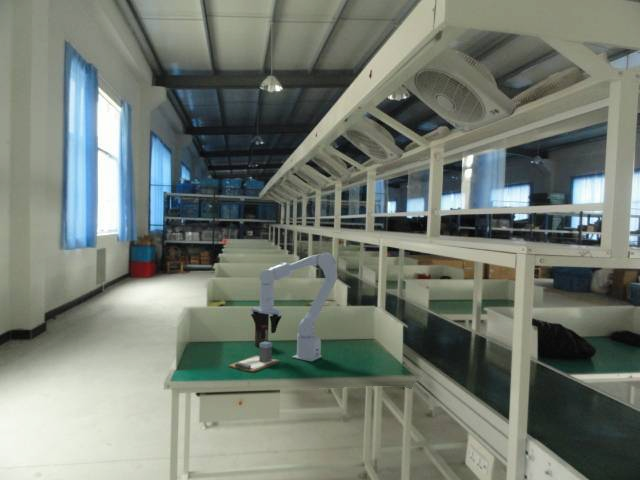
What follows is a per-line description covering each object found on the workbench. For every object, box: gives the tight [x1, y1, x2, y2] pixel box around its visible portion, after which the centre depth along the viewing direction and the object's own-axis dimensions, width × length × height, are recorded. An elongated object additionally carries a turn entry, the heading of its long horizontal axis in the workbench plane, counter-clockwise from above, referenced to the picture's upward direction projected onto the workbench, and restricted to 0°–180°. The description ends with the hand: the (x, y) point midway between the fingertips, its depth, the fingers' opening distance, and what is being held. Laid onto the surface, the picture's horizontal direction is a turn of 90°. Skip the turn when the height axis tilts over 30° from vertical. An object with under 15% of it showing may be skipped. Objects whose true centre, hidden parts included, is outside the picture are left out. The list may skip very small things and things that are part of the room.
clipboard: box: [228, 354, 281, 373], centre depth 157 cm, size 12×16×2 cm
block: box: [258, 341, 273, 363], centre depth 160 cm, size 4×4×7 cm
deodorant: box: [254, 314, 270, 348], centre depth 185 cm, size 6×6×15 cm
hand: (265, 331), depth 169 cm, fingers open, 7 cm apart
